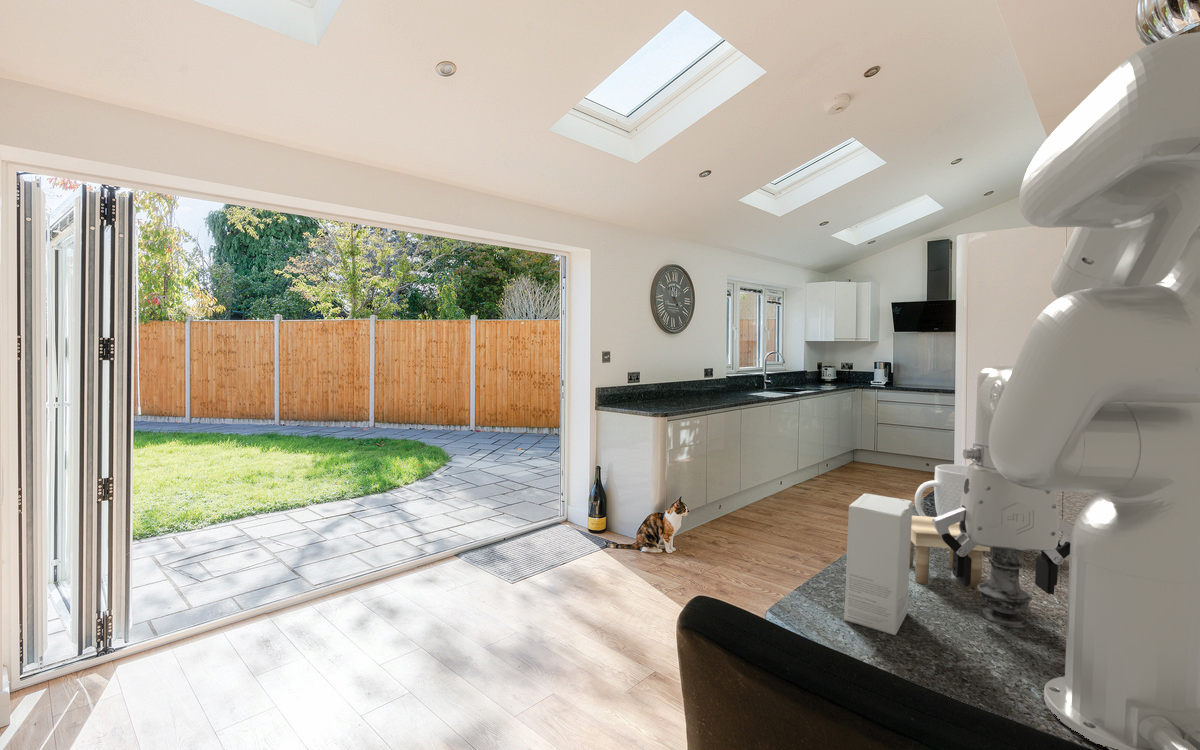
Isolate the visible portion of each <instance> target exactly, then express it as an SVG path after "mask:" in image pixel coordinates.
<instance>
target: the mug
mask: <svg viewBox="0 0 1200 750" xmlns="http://www.w3.org/2000/svg"><path fill="white" fill-rule="evenodd" d="M969 466H970V465H967V464H951V463H950V464H948V463H947V464H946V463H945V464H939V465H935V467H934V476H933V477H934V480H928V481H925V482H923V483H922V484H920V485H919V486H918V488H917V489H916V491H915V494H914V506H915V510H916V513H917V514H918V516H927V515H926V513H925V512H924V511H923V507H922V496H923V493H924V492H925V490H926V489H927V490H928V488H932V487H933V494H934V496H933V497H934V505H935V511H936V512H935V513H936V517H938V516H941V515H943V514H946V513H948V512H951V511H954V510H956V509H959V508H960V502H961V495H962V490H963V485H964V481H965V477H966V474H967V470H968V468H969ZM927 517H929V516H927Z"/></svg>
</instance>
